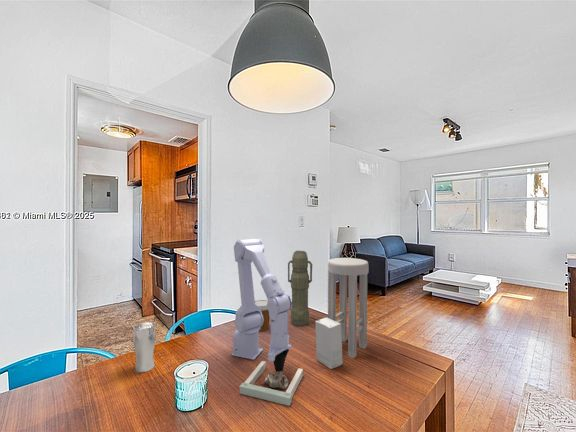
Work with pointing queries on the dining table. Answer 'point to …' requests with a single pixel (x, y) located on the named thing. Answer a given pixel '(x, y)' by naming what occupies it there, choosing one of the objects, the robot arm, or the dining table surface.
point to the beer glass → (144, 346)
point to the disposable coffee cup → (264, 313)
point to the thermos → (299, 288)
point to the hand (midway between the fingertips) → (279, 371)
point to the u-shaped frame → (267, 393)
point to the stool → (352, 269)
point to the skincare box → (329, 342)
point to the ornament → (276, 380)
